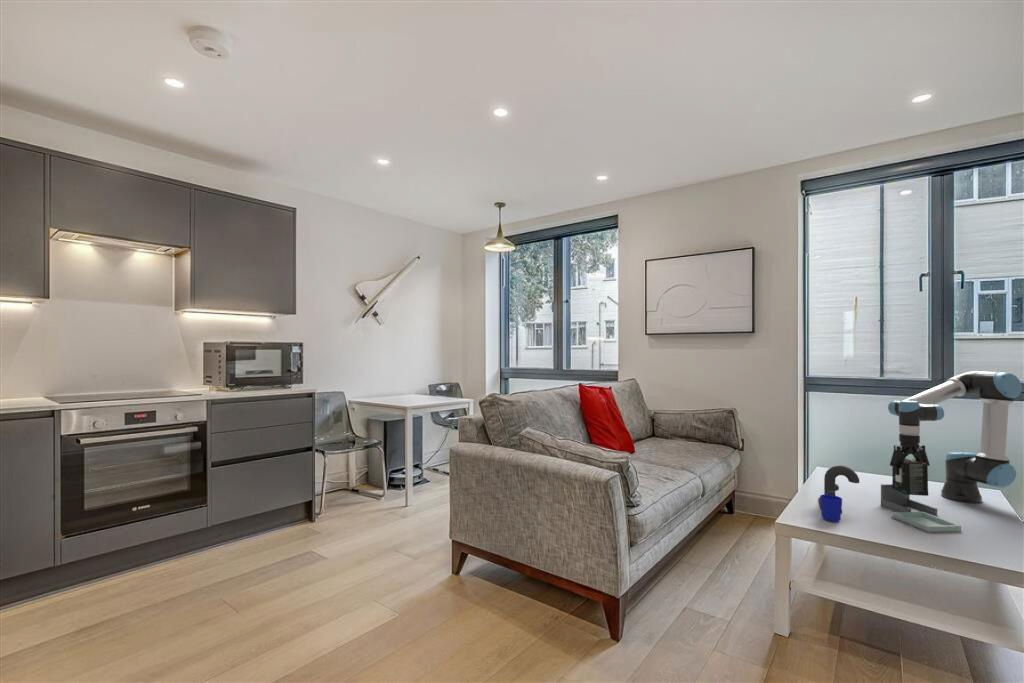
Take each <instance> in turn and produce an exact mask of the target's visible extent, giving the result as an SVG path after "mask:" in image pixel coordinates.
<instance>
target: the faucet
mask: <svg viewBox="0 0 1024 683" xmlns="http://www.w3.org/2000/svg"><path fill="white" fill-rule="evenodd" d="M839 476H843V477H845V478H847V480H848V482H849V483H853V484H860V478H859V476H858V474H857V473H856V472H855V471H854V470H853V469H852V468H850V467H849V466H848V467H847V466H844V465H835V466H832V467H830V468H828V470H826V471H825V474H824V479H823V480H824V481H823V483H824V484H823V485H824V486H823V488H824V489H823V490H824V492H823V493H824V494H827V495H834V496H837V495H836V491H839V489H840V486H839V485H838V484H837V483H836V478H837V477H839ZM824 494H823V495H824ZM818 504H819V508H820V510H821V501H820V496H819V497H818ZM841 514H843V510H842V509H841Z"/></svg>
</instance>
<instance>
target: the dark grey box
mask: <svg viewBox="0 0 1024 683" xmlns="http://www.w3.org/2000/svg"><path fill="white" fill-rule="evenodd" d="M925 463H926V462H925ZM925 463H923V462H920V461H917V460H916V459H915V458H905V460H904V462H902V465H901V467H900V468H902V483H900V482H897V481H896V476H895V473H894V467H893V466H891V467H892V476H891V477H892V481H891V482H892V483H891V484H892V488H893V489H895V490H897V491H899V492H901V493H903V494H906V495H910V496H923V497H928V496H929V482H928V481H929V477H928V476H929V473H928V472H929V470H928V467H929V466H927V464H925Z"/></svg>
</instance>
